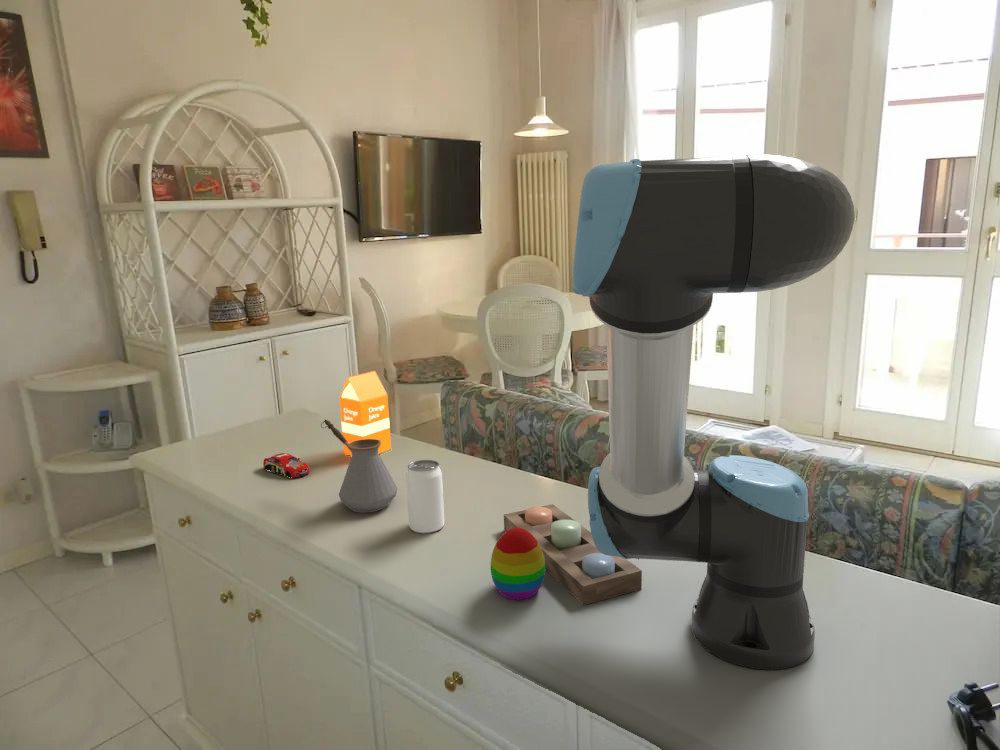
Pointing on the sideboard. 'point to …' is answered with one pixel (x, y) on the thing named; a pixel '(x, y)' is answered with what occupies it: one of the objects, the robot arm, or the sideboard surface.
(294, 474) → the race car
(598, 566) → the slate blue button
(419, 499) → the can
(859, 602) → the sideboard surface
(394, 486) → the coffee pot
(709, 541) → the robot arm
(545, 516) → the terracotta button
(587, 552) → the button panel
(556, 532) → the sage button
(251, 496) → the sideboard surface
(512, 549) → the decorative egg
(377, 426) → the orange juice
